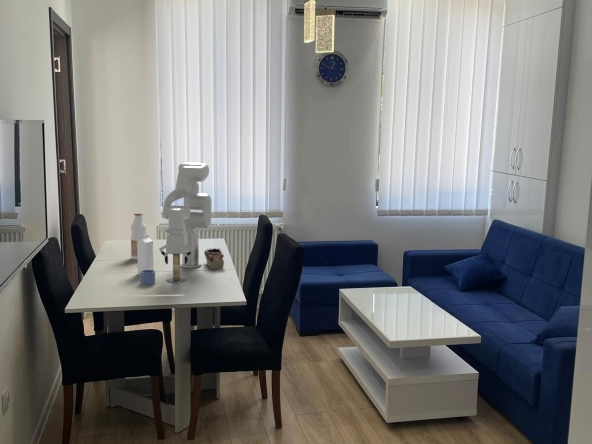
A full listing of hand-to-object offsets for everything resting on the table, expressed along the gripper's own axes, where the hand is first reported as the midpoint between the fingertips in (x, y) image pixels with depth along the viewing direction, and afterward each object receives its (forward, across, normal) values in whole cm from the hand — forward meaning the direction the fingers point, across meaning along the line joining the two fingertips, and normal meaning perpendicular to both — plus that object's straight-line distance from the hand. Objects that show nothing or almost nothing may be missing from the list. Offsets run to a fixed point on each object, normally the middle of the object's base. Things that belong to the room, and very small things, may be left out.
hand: (176, 263), depth 323 cm
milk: (+10, -18, +15) cm, 25 cm away
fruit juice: (+10, -27, +54) cm, 61 cm away
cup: (+10, -14, -5) cm, 18 cm away
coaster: (+10, 0, 0) cm, 10 cm away
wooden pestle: (+9, 0, 0) cm, 9 cm away
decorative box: (+10, +17, +36) cm, 41 cm away
